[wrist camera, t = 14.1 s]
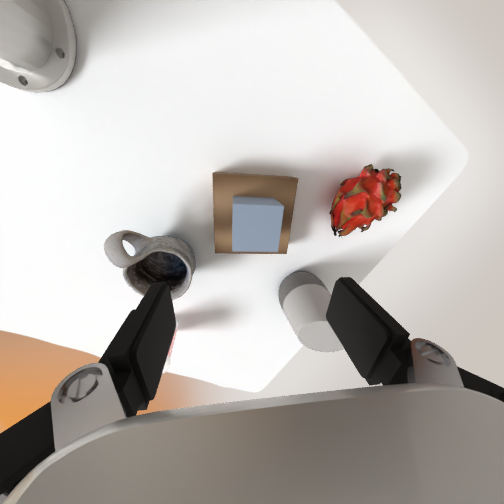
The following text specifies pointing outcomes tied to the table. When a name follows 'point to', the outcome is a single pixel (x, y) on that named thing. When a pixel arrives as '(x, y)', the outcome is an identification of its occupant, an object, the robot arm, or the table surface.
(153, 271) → the mug
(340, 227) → the dragon fruit
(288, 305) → the smart speaker
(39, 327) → the table surface
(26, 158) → the table surface
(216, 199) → the walnut block
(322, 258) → the table surface
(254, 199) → the slate cube
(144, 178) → the table surface
